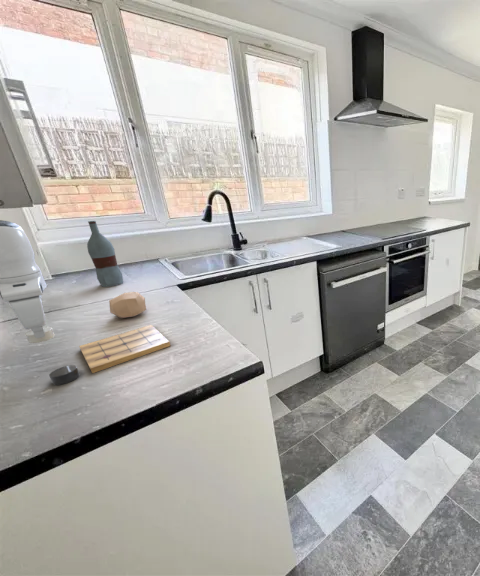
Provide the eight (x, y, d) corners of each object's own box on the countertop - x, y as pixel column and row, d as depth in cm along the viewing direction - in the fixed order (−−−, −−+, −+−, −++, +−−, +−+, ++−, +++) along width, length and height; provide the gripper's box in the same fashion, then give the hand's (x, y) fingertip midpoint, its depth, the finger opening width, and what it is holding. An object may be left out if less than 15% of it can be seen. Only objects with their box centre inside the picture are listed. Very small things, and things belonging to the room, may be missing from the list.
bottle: (111, 280, 153) (91, 219, 143) (129, 280, 153) (110, 219, 143) (94, 287, 145) (71, 222, 134) (113, 287, 144) (91, 222, 134)
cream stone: (22, 343, 81) (19, 335, 81) (43, 334, 86) (39, 326, 85) (40, 343, 81) (37, 335, 81) (60, 334, 86) (57, 326, 85)
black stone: (46, 384, 76) (42, 376, 75) (66, 372, 81) (63, 365, 80) (66, 385, 76) (62, 377, 75) (85, 373, 81) (82, 365, 80)
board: (80, 350, 91) (78, 345, 91) (152, 328, 104) (151, 324, 104) (92, 373, 80) (90, 368, 80) (170, 345, 93) (169, 341, 93)
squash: (113, 325, 107) (99, 302, 104) (119, 313, 123) (108, 293, 120) (149, 313, 112) (137, 290, 109) (151, 302, 128) (140, 283, 125)
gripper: (0, 279, 83) (20, 325, 87) (1, 297, 70) (24, 350, 75) (34, 274, 87) (51, 318, 92) (41, 290, 75) (60, 340, 79)
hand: (39, 333), depth 83 cm, fingers closed on cream stone, 5 cm apart
